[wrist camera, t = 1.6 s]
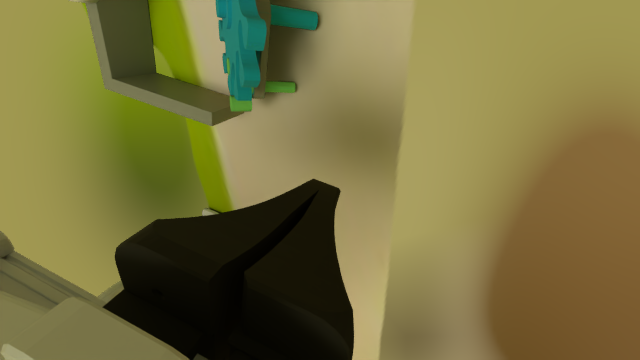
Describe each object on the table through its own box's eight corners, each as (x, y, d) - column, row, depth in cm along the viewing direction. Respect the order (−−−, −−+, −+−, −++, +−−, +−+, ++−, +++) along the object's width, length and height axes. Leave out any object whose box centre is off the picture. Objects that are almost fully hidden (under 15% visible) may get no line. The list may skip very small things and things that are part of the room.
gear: (201, -122, 15) (232, -140, 8) (301, -89, 17) (384, -82, 11) (211, 76, 22) (232, 149, 15) (281, 79, 24) (324, 143, 18)
